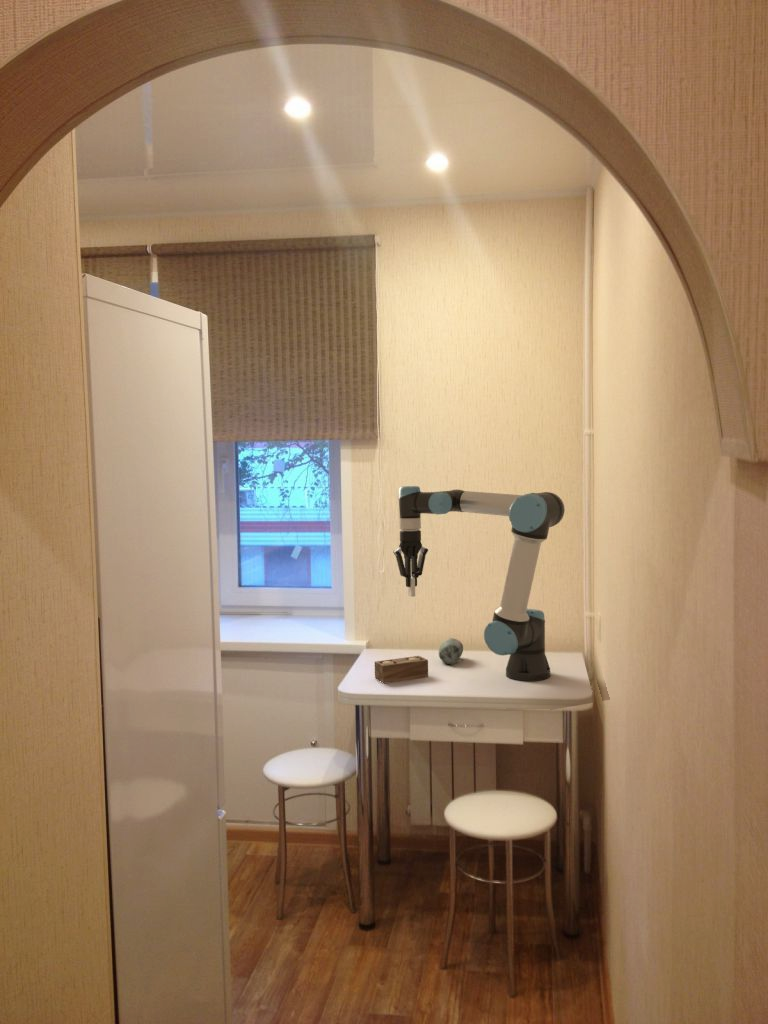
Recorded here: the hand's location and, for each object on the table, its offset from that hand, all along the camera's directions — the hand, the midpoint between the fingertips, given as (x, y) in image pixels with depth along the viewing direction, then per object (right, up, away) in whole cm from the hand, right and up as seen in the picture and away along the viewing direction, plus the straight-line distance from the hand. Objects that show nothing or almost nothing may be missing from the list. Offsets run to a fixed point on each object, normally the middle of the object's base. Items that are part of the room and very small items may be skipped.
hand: (411, 595), depth 318 cm
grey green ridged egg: (+15, -26, +12) cm, 32 cm away
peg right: (+1, -27, -8) cm, 28 cm away
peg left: (-8, -28, -12) cm, 31 cm away
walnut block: (-4, -27, -10) cm, 29 cm away
